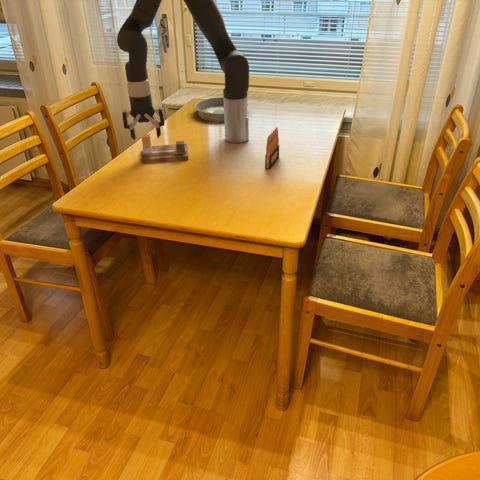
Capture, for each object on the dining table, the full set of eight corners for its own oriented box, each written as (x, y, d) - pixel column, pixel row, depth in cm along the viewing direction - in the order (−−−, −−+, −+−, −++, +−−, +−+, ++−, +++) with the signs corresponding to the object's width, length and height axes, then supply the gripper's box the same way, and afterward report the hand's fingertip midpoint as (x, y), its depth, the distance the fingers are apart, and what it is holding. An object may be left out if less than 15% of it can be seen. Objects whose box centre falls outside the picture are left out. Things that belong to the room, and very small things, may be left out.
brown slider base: (187, 147, 179) (186, 133, 176) (188, 159, 169) (187, 145, 166) (143, 150, 177) (141, 136, 174) (141, 163, 167) (139, 149, 164)
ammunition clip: (269, 169, 161) (270, 137, 154) (264, 168, 161) (265, 136, 155) (279, 157, 169) (280, 126, 162) (274, 157, 170) (275, 125, 163)
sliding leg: (152, 147, 174) (150, 130, 170) (152, 155, 168) (149, 137, 164) (144, 148, 174) (142, 130, 170) (144, 155, 168) (141, 137, 164)
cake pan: (258, 110, 214) (258, 101, 211) (229, 127, 197) (228, 116, 194) (215, 102, 225) (214, 93, 222) (184, 117, 208) (183, 107, 205)
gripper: (160, 88, 160) (166, 132, 169) (119, 91, 159) (127, 135, 168) (160, 94, 154) (166, 140, 163) (117, 97, 153) (125, 143, 162)
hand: (146, 137), depth 166 cm, fingers open, 8 cm apart
